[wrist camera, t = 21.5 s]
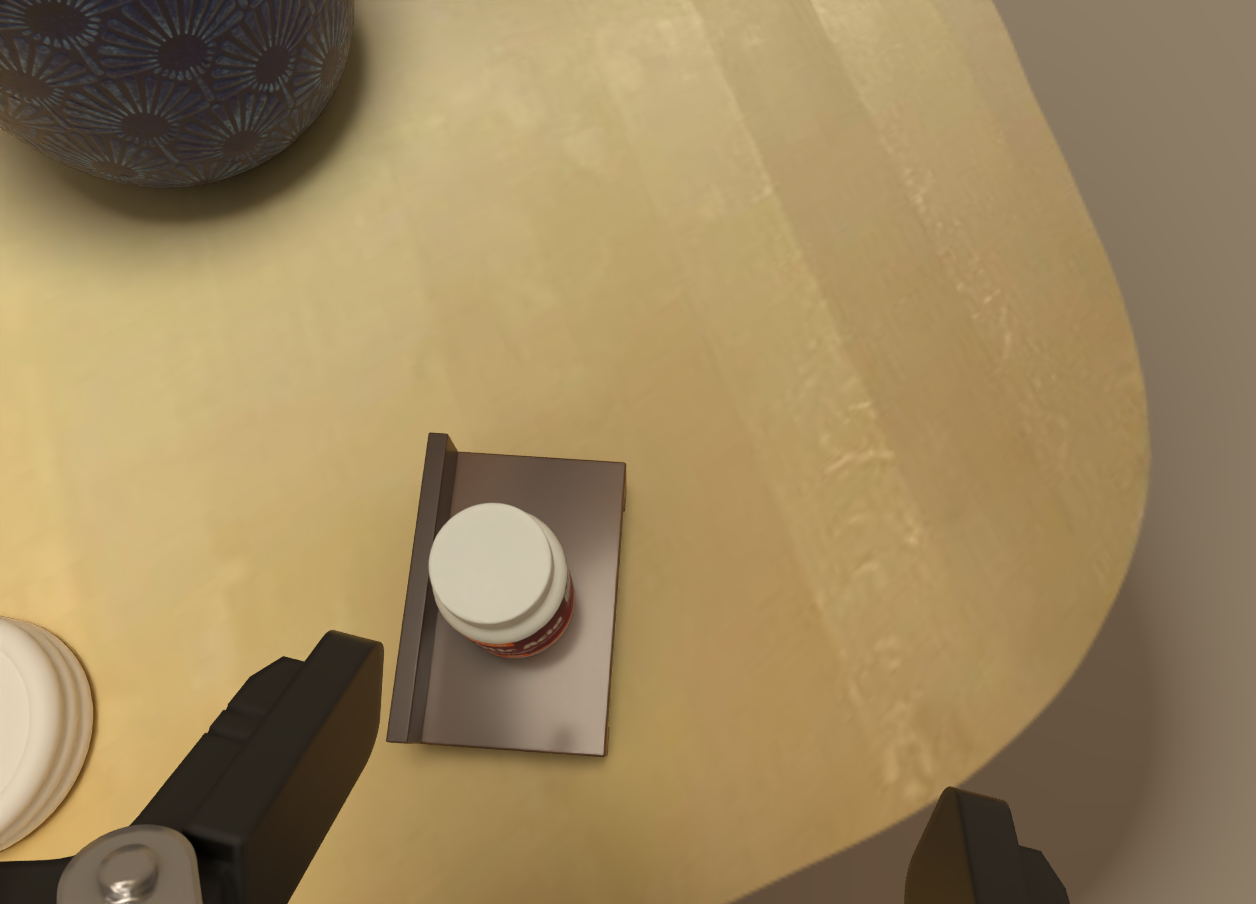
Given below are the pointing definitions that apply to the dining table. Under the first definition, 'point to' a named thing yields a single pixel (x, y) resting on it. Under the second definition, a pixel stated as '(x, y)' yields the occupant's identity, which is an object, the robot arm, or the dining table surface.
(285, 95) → the planter
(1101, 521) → the dining table surface
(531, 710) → the shelf
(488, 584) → the pill bottle
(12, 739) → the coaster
